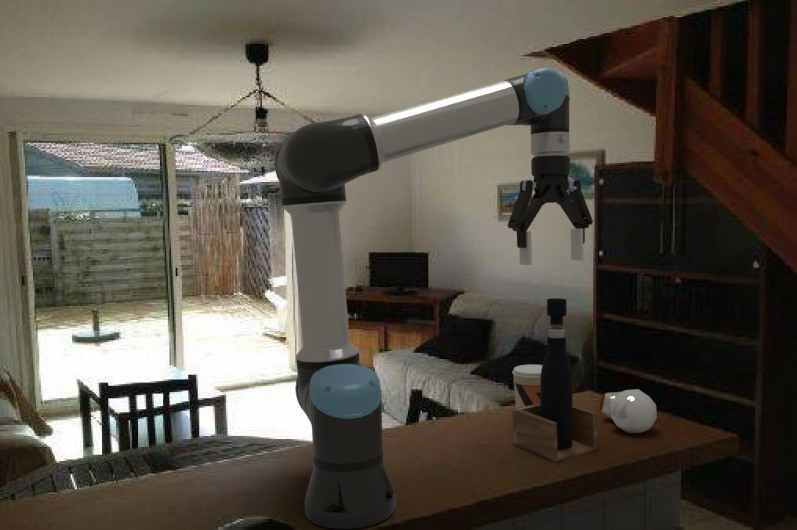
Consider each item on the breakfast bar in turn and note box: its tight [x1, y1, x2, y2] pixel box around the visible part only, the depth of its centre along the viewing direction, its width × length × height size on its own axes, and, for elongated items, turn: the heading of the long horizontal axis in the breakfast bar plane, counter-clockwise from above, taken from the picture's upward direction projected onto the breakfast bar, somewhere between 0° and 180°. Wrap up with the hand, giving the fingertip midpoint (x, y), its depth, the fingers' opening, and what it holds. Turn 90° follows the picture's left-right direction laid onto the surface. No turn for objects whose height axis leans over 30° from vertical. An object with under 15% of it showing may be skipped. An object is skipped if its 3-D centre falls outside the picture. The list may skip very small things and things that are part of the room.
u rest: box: [512, 403, 599, 463], centre depth 141 cm, size 12×12×8 cm
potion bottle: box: [599, 388, 658, 434], centre depth 151 cm, size 9×10×15 cm
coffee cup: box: [512, 364, 543, 409], centre depth 160 cm, size 9×9×12 cm
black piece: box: [540, 297, 573, 450], centre depth 140 cm, size 6×6×30 cm
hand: (552, 262), depth 138 cm, fingers open, 13 cm apart
